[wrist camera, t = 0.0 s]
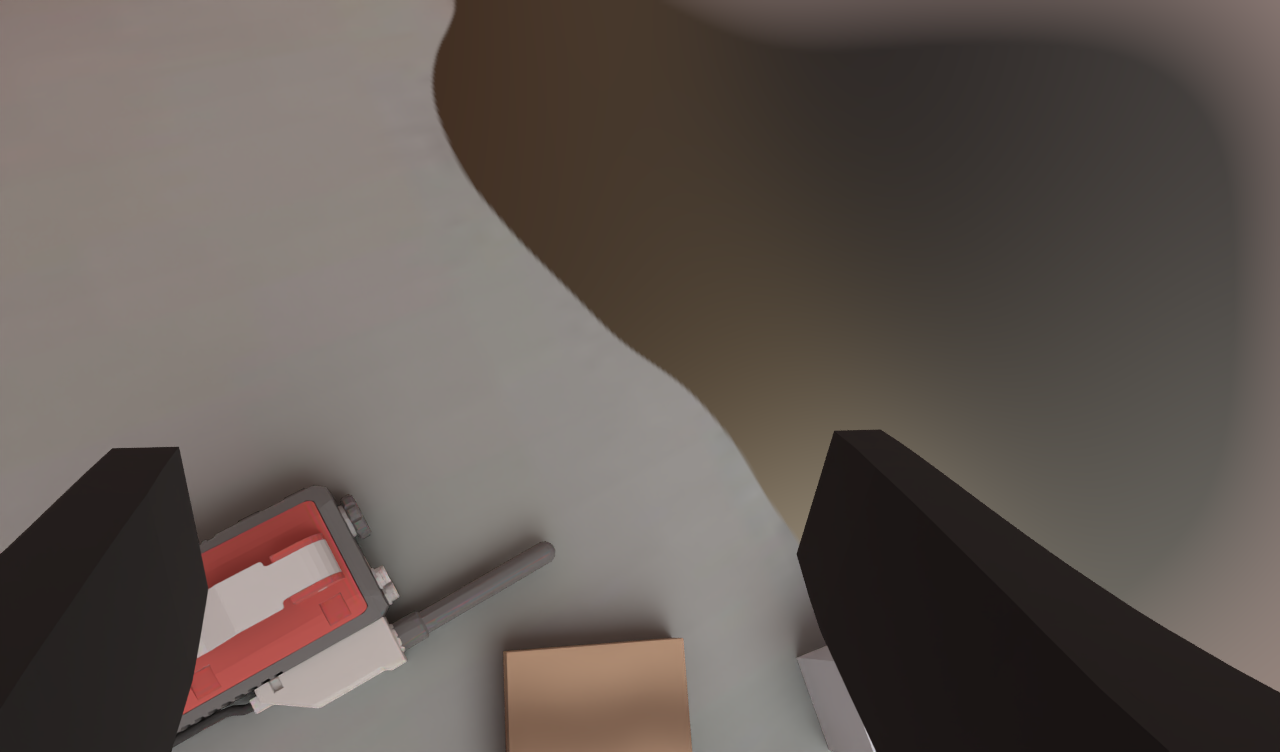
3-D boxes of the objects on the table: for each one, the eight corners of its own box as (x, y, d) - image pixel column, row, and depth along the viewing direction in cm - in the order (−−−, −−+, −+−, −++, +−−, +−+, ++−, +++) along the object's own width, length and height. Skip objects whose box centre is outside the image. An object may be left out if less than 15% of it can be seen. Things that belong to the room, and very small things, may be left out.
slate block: (906, 715, 44) (963, 726, 39) (828, 749, 42) (878, 765, 38) (873, 626, 44) (925, 626, 40) (796, 657, 43) (840, 661, 38)
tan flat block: (683, 818, 40) (698, 830, 38) (507, 841, 38) (512, 855, 36) (669, 637, 42) (683, 638, 40) (502, 651, 40) (506, 652, 38)
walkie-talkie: (135, 820, 36) (561, 569, 42) (95, 847, 31) (574, 563, 38) (45, 628, 37) (474, 411, 43) (-5, 629, 33) (478, 389, 39)
